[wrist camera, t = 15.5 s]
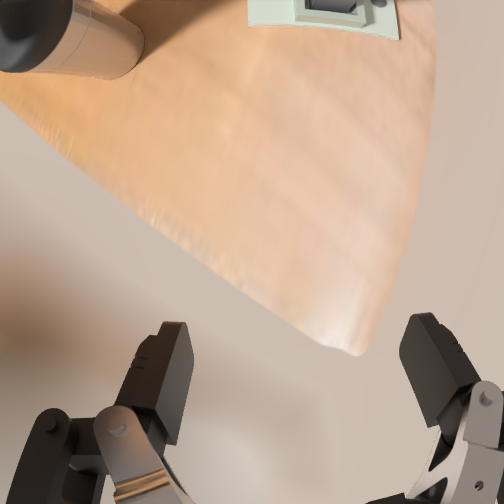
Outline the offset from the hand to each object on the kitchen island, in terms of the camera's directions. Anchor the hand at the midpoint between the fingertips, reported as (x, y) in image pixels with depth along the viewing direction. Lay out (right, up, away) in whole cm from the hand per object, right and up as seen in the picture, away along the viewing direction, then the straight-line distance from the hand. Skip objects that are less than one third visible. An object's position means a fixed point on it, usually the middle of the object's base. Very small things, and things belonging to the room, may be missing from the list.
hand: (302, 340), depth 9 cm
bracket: (+8, +37, +15) cm, 40 cm away
